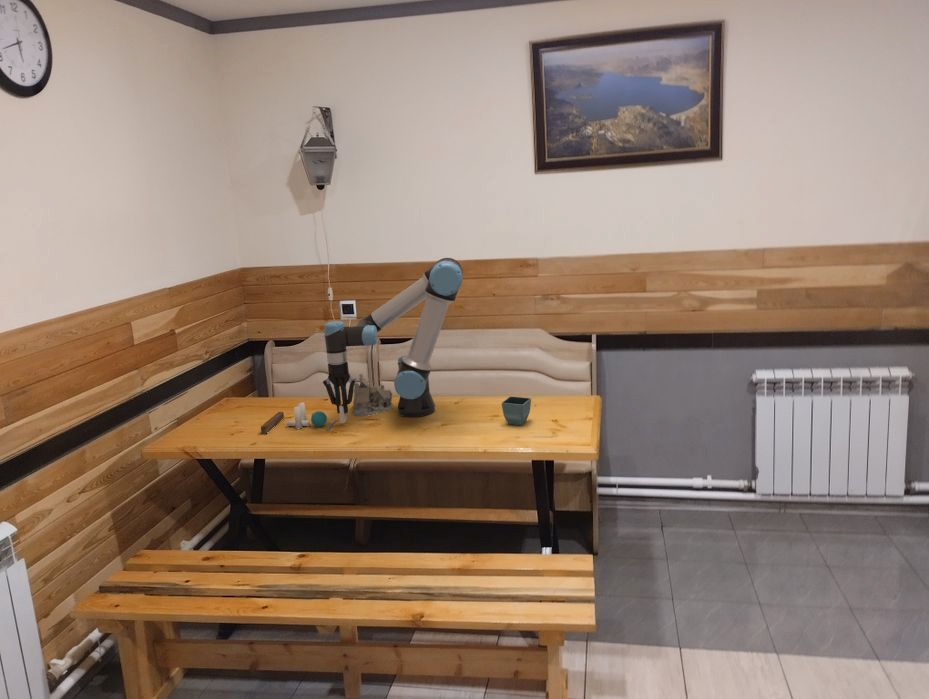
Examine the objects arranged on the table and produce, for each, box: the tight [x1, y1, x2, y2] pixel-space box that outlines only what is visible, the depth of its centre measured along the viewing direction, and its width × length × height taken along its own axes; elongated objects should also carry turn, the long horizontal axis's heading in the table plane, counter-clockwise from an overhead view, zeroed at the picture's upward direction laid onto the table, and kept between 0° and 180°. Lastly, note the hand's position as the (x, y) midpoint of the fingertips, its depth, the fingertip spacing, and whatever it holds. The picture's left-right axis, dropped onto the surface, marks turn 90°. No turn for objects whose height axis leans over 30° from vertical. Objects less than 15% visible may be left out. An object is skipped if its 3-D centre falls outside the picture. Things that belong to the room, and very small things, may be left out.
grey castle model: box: [351, 373, 394, 417], centre depth 316 cm, size 16×16×15 cm
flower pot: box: [501, 395, 532, 426], centre depth 290 cm, size 9×9×9 cm
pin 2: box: [297, 402, 307, 420], centre depth 305 cm, size 2×2×8 cm
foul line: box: [325, 419, 339, 432], centre depth 301 cm, size 1×12×1 cm, turn 171°
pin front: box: [286, 419, 311, 427], centre depth 303 cm, size 2×2×8 cm
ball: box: [310, 410, 328, 428], centre depth 301 cm, size 6×6×6 cm
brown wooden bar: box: [260, 411, 285, 435], centre depth 305 cm, size 2×18×3 cm, turn 171°
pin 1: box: [293, 405, 303, 429], centre depth 300 cm, size 2×2×8 cm
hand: (343, 421), depth 300 cm, fingers closed
